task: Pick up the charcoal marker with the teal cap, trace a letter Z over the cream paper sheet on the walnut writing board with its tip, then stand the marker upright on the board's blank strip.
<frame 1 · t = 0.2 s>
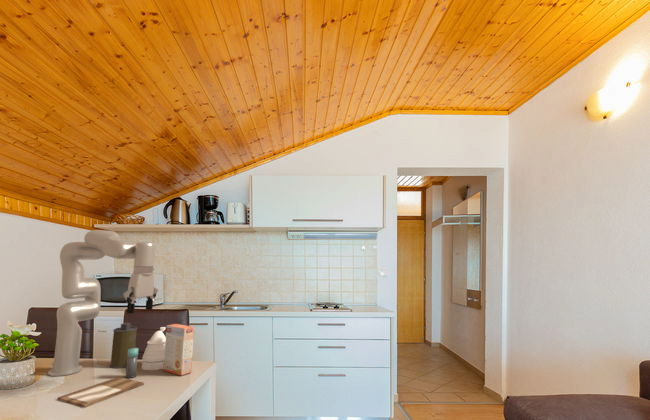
hand: (140, 311, 144), 30 cm above the table, tool pointing down, fingers open, 9 cm apart
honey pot: (156, 366, 167), on the table
canister: (122, 365, 168), on the table
marker: (130, 377, 151), on the table
cracker box: (177, 372, 159), on the table
writing board: (103, 391, 135), on the table
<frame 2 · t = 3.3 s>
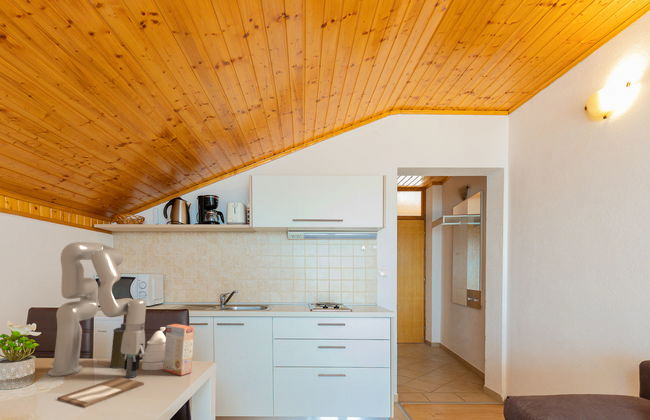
hand: (131, 369, 152), 3 cm above the table, tool pointing down, fingers closed on marker, 4 cm apart
marker: (130, 377, 151), on the table, touching gripper
everything else where it was.
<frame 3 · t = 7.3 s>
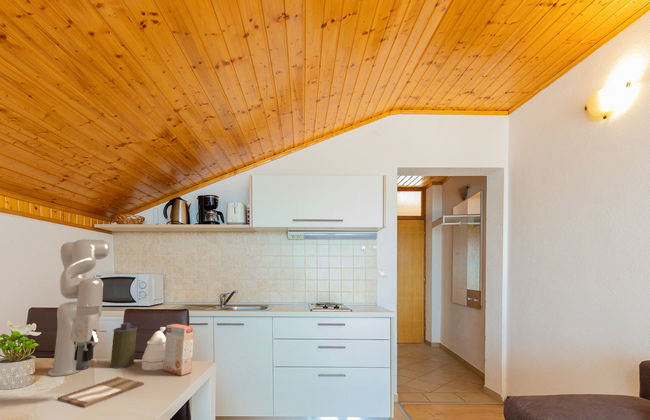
hand: (82, 359, 130), 14 cm above the table, tool pointing down, fingers closed on marker, 4 cm apart
marker: (82, 368, 130), point 11 cm above the table, touching gripper
everything else where it was.
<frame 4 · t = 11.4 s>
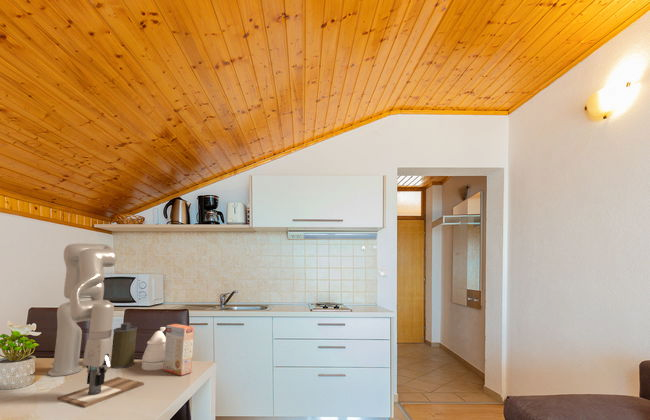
hand: (95, 383, 131), 5 cm above the table, tool pointing down, fingers closed on marker, 4 cm apart
marker: (94, 392, 131), point 1 cm above the table, touching gripper
everything else where it was.
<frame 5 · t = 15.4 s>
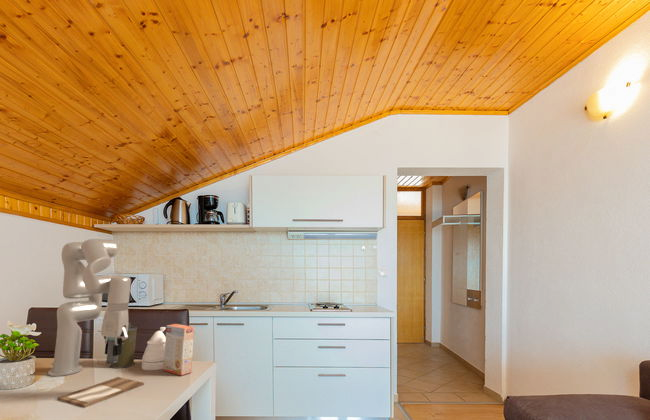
hand: (112, 353, 136), 15 cm above the table, tool pointing down, fingers closed on marker, 4 cm apart
marker: (112, 362, 135), point 12 cm above the table, touching gripper
everything else where it was.
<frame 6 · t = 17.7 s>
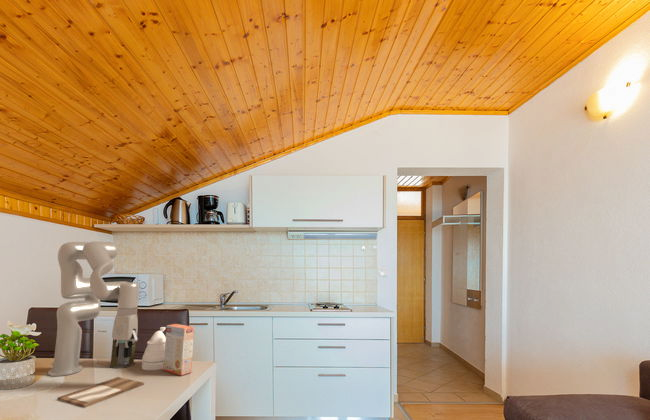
hand: (123, 355, 143), 12 cm above the table, tool pointing down, fingers closed on marker, 4 cm apart
marker: (123, 364, 143), point 8 cm above the table, touching gripper
everything else where it was.
when the fingers open (6 cm above the table, at t = 19.4 s): marker drops 1 cm, resting on writing board.
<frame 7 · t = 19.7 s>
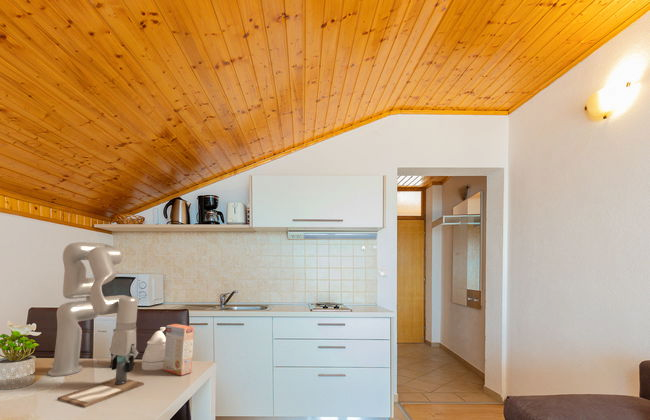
hand: (122, 369, 143), 6 cm above the table, tool pointing down, fingers open, 7 cm apart
marker: (120, 383, 142), point 1 cm above the table, touching writing board
everything else where it was.
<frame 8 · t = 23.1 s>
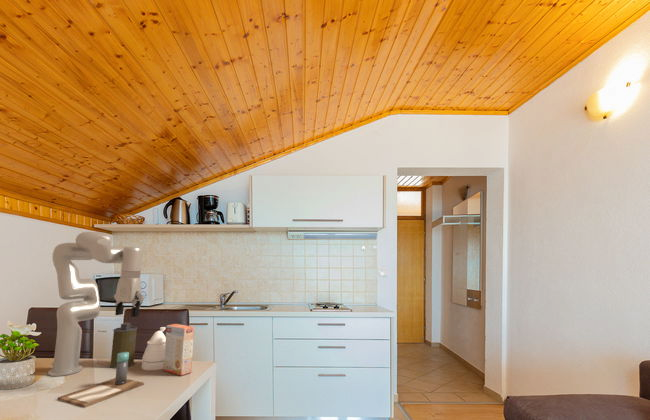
hand: (126, 315, 146), 28 cm above the table, tool pointing down, fingers open, 9 cm apart
nothing on the table moved.
at the end: marker 0.2 cm from the target spot, point 0.8 cm above the table; marker tilted 0°; the gripper is holding nothing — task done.
